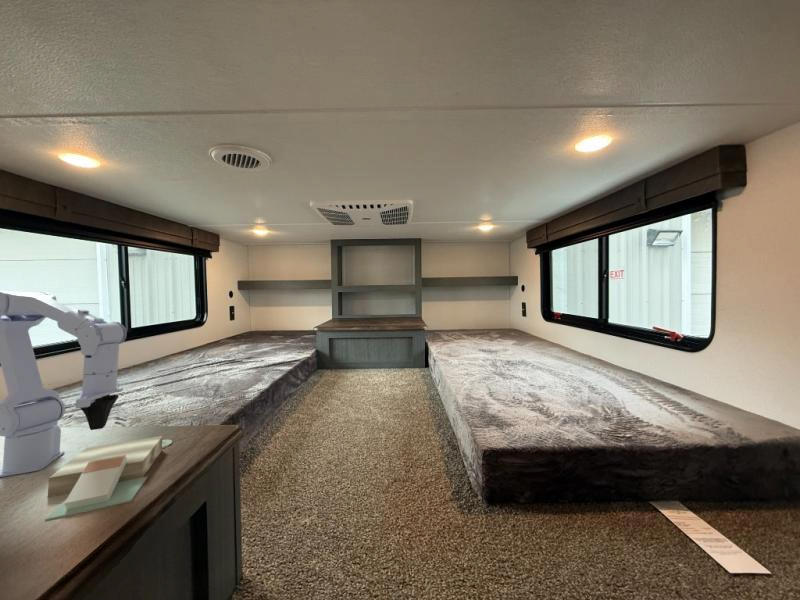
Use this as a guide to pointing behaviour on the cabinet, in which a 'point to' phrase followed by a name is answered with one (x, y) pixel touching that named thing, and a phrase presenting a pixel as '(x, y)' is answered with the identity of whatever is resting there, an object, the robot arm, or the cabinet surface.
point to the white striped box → (96, 482)
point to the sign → (166, 443)
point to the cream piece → (136, 452)
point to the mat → (120, 495)
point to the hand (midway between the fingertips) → (97, 428)
